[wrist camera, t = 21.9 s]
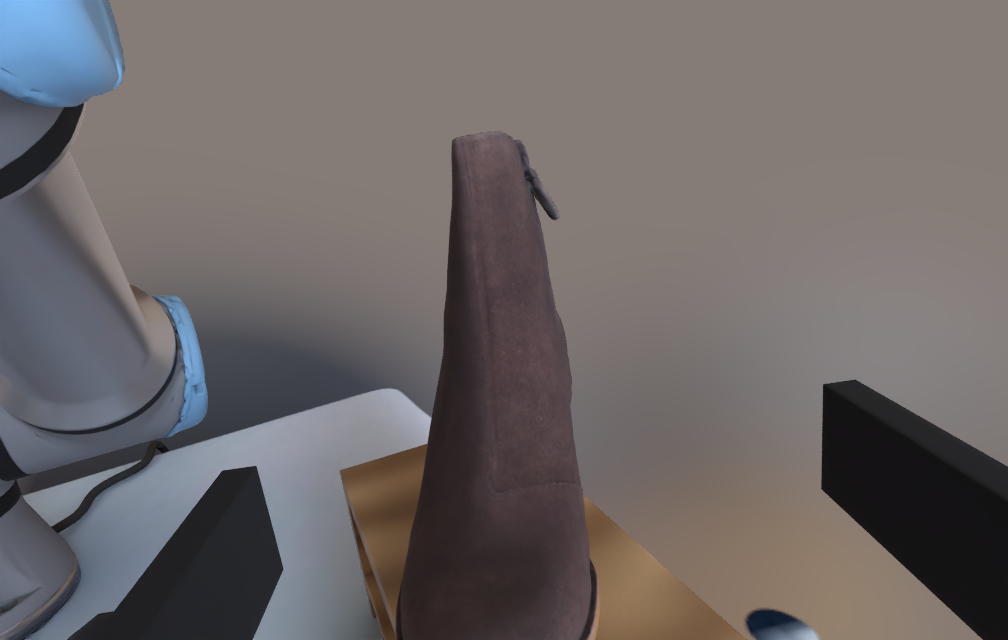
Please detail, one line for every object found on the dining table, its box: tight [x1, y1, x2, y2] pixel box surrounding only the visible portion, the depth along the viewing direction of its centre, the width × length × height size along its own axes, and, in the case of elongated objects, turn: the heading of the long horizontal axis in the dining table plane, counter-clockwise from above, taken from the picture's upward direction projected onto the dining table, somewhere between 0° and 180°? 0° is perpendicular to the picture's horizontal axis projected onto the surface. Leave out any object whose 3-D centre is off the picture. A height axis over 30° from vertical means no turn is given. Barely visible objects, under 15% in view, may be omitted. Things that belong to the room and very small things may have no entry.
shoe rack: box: [340, 444, 747, 640], centre depth 32 cm, size 28×12×11 cm, turn 24°
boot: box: [395, 131, 600, 640], centre depth 28 cm, size 9×24×20 cm, turn 176°
